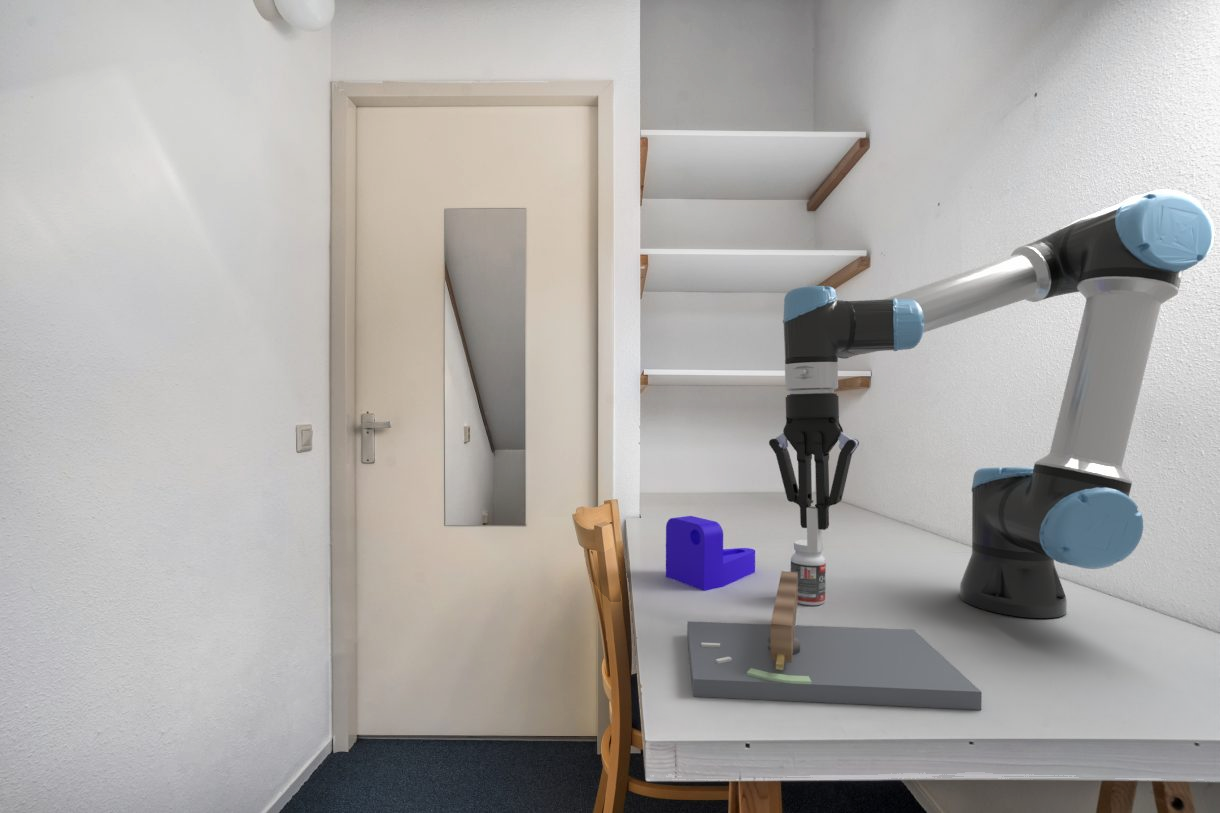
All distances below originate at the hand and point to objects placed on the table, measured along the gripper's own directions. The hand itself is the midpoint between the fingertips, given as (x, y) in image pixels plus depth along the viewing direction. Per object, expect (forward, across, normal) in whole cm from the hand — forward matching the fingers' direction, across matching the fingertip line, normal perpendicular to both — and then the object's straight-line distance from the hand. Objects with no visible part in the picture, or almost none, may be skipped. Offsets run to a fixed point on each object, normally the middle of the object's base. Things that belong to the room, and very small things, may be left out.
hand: (815, 550), depth 94 cm
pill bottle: (+12, -5, +12) cm, 18 cm away
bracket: (+12, -24, +17) cm, 32 cm away
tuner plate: (+12, +4, -14) cm, 19 cm away
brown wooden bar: (+9, -1, -12) cm, 15 cm away
